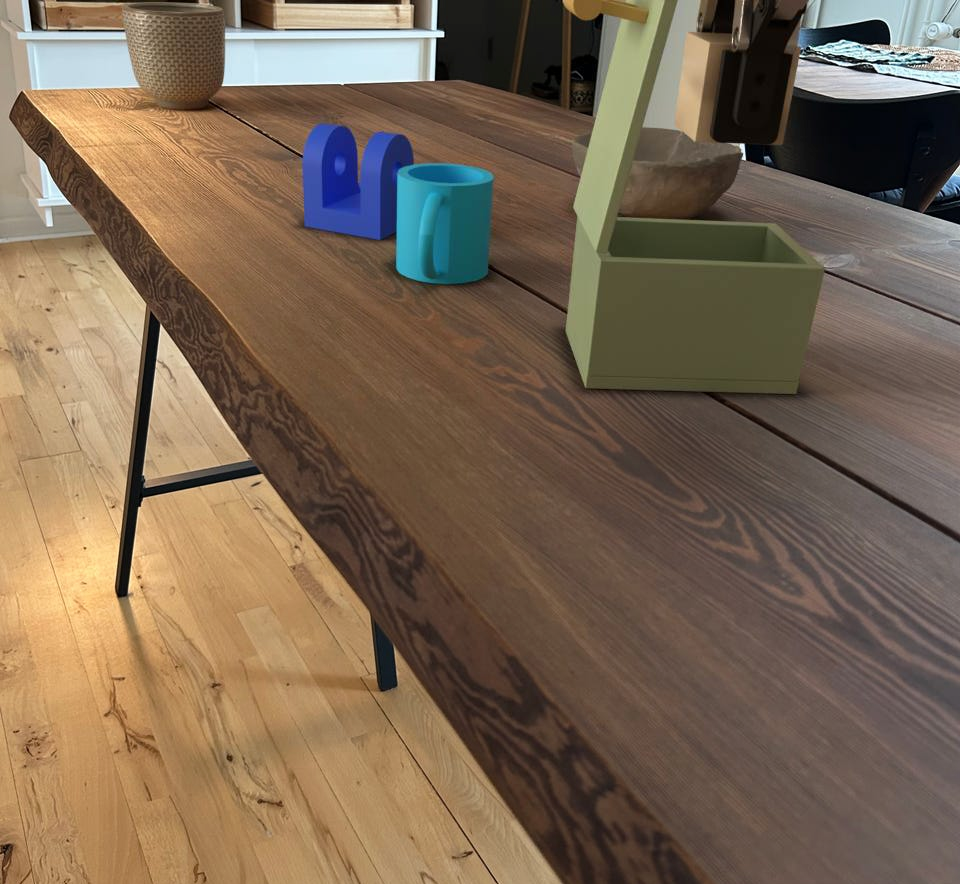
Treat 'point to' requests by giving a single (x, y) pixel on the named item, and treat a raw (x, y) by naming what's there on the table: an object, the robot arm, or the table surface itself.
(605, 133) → the chest lid
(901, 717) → the table surface
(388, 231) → the bracket
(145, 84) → the planter
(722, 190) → the bowl
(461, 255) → the mug
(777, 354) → the chest
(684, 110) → the block
